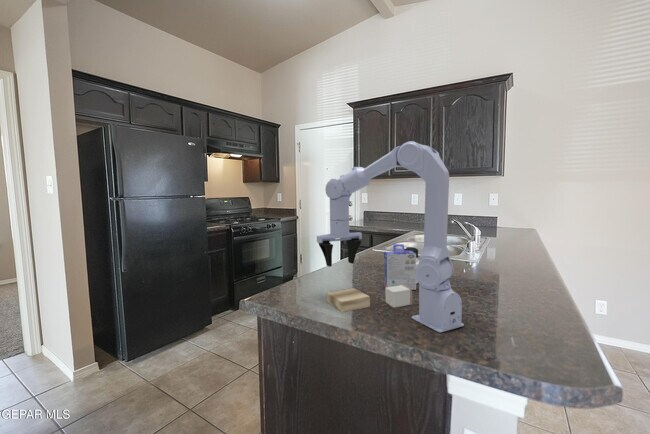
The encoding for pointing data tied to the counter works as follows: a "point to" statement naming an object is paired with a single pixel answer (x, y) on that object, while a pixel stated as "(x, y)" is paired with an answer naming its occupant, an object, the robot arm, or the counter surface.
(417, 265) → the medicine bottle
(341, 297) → the maple block
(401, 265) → the ink cartridge box
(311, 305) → the counter surface
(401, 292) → the off-white cardboard box
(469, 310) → the counter surface
